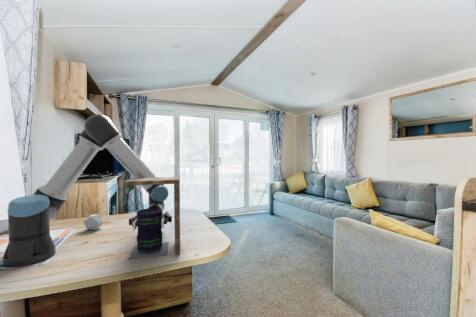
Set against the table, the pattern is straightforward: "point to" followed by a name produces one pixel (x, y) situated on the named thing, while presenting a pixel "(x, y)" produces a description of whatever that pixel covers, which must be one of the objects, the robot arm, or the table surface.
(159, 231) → the rusty oil drum
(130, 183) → the wooden gallows frame
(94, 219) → the die
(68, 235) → the table surface
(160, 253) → the pad
